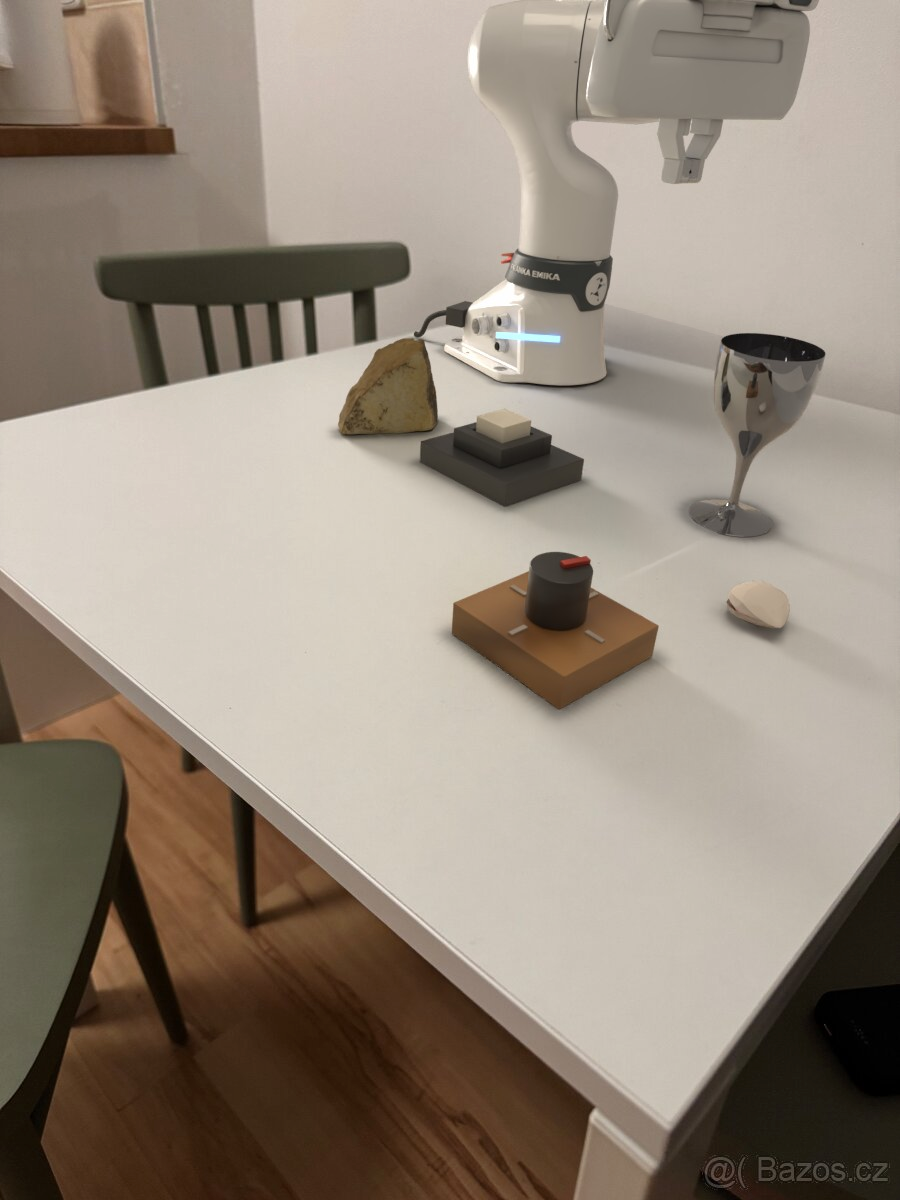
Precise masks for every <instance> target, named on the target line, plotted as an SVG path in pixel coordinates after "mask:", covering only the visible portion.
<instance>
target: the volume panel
mask: <svg viewBox="0 0 900 1200" xmlns="http://www.w3.org/2000/svg"><path fill="white" fill-rule="evenodd" d="M528 576H529V570H528V571H526V572H524V573H521V574H518V575H517V576H514V577H511V578H509V579H507V580H504V581H502V582H500V583H497V584H495V585H492V586H489V587H487V588H485V589H482V590H480V591H478V592H475V593H473V594H471V595H469V596H467V597H464V598H461V599H458V600H456V601H454V602H453V603H452V604H453V605H452V619H451V620H452V621H451V634H452V635H453V636H454V637H456V638H457V639H459V640H460V641H461V642H463V643H464V644H465V645H467V646H468V647H470V648H471V649H473V650H474V651H476V652H477V653H479V655H481V656H483V657H484V658H486V659H487V660H488V661H490V662H491V663H493V664H494V665H496V666H497V667H498V668H500V669H501V670H503V671H504V672H505V673H507V674H508V675H510V676H511V677H513V678H514V679H516V680H517V681H518V682H520V683H521V684H522V685H524V686H525V687H527V688H528V689H530V690H531V691H532V692H534V693H535V694H537V695H539V697H541V698H542V699H544V700H545V701H547V702H548V703H549V704H550V705H552V706H554V707H555V708H556V709H558V710H561V709H563V708H564V707H566V706H568V705H569V704H572V703H573V702H575V701H576V700H578V699H580V698H582V697H584V696H585V695H587V694H589V693H591V692H592V691H595V690H596V689H598V688H599V687H601V686H603V685H605V684H606V683H608V682H610V681H612V680H613V679H615V678H618V677H619V676H621V675H622V674H624V673H626V672H628V671H629V670H631V669H632V668H635V667H636V666H639V665H640V664H642V663H643V662H645V661H647V660H648V659H651V658H652V657H653V654H654V649H655V645H656V640H657V636H658V631H659V625H658V624H657V623H655V622H653V621H652V620H650V619H648V618H646V617H644V616H642V615H641V614H639V613H637V612H635V611H634V610H632V609H630V608H628V607H627V606H625V605H623V604H621V603H619V602H618V601H616V600H614V599H613V598H610V597H609V596H608V595H605V594H603V593H601V592H600V591H598V590H596V589H595V588H592V587H591V589H590V595H589V602H588V608H587V614H586V619H585V621H584V622H583V623H582V624H581V625H580V626H578V627H576V628H573V629H568V630H553V629H547V628H544V627H541V626H539V625H536V624H535V623H533V622H532V621H530V620H529V619H528V617H527V616H526V614H525V602H526V593H527V585H528Z"/></svg>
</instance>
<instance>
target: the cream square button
mask: <svg viewBox="0 0 900 1200" xmlns="http://www.w3.org/2000/svg"><path fill="white" fill-rule="evenodd" d="M531 427H532V419H530V418H527V417H526V416H523V415H521V414H518V413H516V412H515V411H512V410H509V409H506V408H503V409H498V410H494V411H491V412H486V413H482V414H479V415H476V432H478V433H480V434H483V435H485V436H487V437H489V438H491V439H494V440H496V441H498V442H500V443H502V444H503V443H505V442H509V441H512V440H516V439H519V438H523V437H526V436H529V435H530V429H531Z"/></svg>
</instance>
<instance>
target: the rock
mask: <svg viewBox="0 0 900 1200" xmlns="http://www.w3.org/2000/svg"><path fill="white" fill-rule="evenodd" d="M438 417H439V411H438V399H437V390H436V386H435V382H434V377H433V372H432V364H431V360H430V357H429V352H428V350H427V347H426V342H425V340H424V339H422V338H421V339H415V338H413V337H411V338H409V337H404V338H399V339H397V340H395V341H394V342H392V343H389V344H387V345H386V346H383V347H381V348H378V349H376V351H375V352H374V354H373V357H372V359H371V360H370V363H368V365H367V367H366V368H365V369H364V371H363V372H362V375H361V376H360V377H359V378H358V381H357V382H356V383H355V384H354V385H352V387H351V388H349V391H348V393H347V395H346V397H345V402H344V404H343V407H342V409H341V411H340V413H339V415H338V422H337V427H338V429H339V432H340V434H341V435H377V434H406V433H413V432H425V431H431V430H433V429H434V428H435V427H436V426H437V425H438V419H439V418H438Z"/></svg>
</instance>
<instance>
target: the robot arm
mask: <svg viewBox="0 0 900 1200" xmlns="http://www.w3.org/2000/svg"><path fill="white" fill-rule="evenodd" d="M819 2H820V0H513V1H508V2H505V3H500V4H496V5H492V6H489V7H488V8H487V9H485V11H484V12H483V13H482V15H481V16H480V17H479V19H478V21H477V23H476V25H475V26H474V28H473V31H472V33H471V36H470V38H469V39H470V40H469V42H468V43H469V44H468V48H467V57H466V58H467V63H466V64H467V73H468V77H469V82H470V85H471V88H472V90H473V93H474V94H475V96H476V98H477V99H478V101H479V103H481V104H482V106H483V107H484V108H485V109H486V110H487V111H488V112H489V113H490V114H491V115H492V116H493V118H495V120H496V121H497V123H498V124H499V125H500V126H501V128H502V130H503V131H504V134H505V135H506V136H507V138H508V141H509V143H510V145H511V147H512V149H513V152H514V155H515V159H516V163H517V168H518V172H519V173H518V174H519V179H520V218H519V219H520V221H519V235H518V246H517V247H518V248H516V249H515V251H514V252H507V253H502V254H501V255H500V256H501V257H508V258H505V259H503V260H500V263H501V264H502V265H503V264H509V265H508V267H507V269H506V273H505V275H504V279H503V280H502V281H500V282H499V283H498V284H497V285H495V286H494V287H492V289H489V291H487V292H485V294H483V295H482V296H480V297H479V298H478V299H476V300H475V301H474V302H473V301H467V300H463V301H461V302H457V303H454V304H452V305H449V306H446V308H445V309H442V310H438V311H434V312H432V313H430V314H429V315H428V316H426V318H425V319H424V321H423V323H422V326H421V328H420V329H419V331H414V332H413V336H414V337H415V338H419V339H420V338H421V337H423V336H424V335H425V333H426V331H427V330H428V327H429V325H430V323H431V322H432V321H433V320H435V319H437V318H441V317H445V325H446V326H451V327H456V328H460V329H463V330H462V335H461V336H458V337H454V338H453V339H450V340H448V341H447V342H445V344H444V348H443V349H444V350H443V351H444V352H445V353H447V354H449V355H450V356H452V357H454V358H456V359H458V360H460V361H461V362H463V363H464V364H466V365H469V366H470V367H472V368H473V369H476V370H477V371H479V372H480V373H483V374H484V375H486V376H488V377H490V378H492V379H493V380H495V381H498V382H501V383H529V384H537V385H544V386H545V385H547V386H580V385H586V384H587V385H588V384H592V383H596V382H598V381H601V380H602V379H604V378H605V377H606V376H607V373H608V371H607V366H606V357H605V304H606V299H607V296H608V293H609V290H610V284H611V280H612V279H611V278H612V272H613V261H614V258H613V257H612V255H611V251H612V244H613V237H614V229H615V222H616V216H617V210H618V209H617V208H618V200H619V188H618V185H617V182H616V180H615V178H614V176H613V174H612V173H611V172H610V171H609V170H608V169H607V168H606V167H605V166H604V165H602V164H601V163H600V162H599V161H597V160H595V158H593V157H591V156H590V155H588V154H587V153H585V152H583V151H582V150H581V149H580V148H579V147H577V145H576V143H575V141H574V138H573V133H572V125H573V124H574V123H575V122H577V123H578V122H591V123H607V124H619V125H620V124H622V125H636V126H637V125H645V124H651V123H658V125H657V130H656V131H657V133H656V135H657V139H658V143H659V146H660V150H661V154H662V157H663V164H662V169H661V175H660V177H661V181H662V183H665V184H670V185H680V184H698V183H700V182H701V180H702V177H703V174H704V173H703V172H704V167H705V162H706V160H707V159H708V157H709V156H710V153H712V150H713V148H714V147H715V145H716V144H717V142H718V140H719V139H720V138H721V133H722V128H723V124H724V120H727V121H728V120H730V121H731V120H733V121H734V120H739V121H742V120H743V121H747V120H748V121H782V120H783V119H784V118H785V117H786V115H787V114H788V113H789V111H790V110H791V108H792V107H793V105H794V103H795V101H796V98H797V94H798V91H799V87H800V84H801V79H802V75H803V71H804V67H805V62H806V57H807V53H808V47H809V43H810V33H811V26H810V25H811V24H810V20H809V17H808V16H807V14H806V13H805V12H811V11H814V10H816V8H817V6H818V4H819ZM689 134H693V135H692V138H691V140H690V141H689V143H688V146H687V148H685V140H684V137H685V136H689Z"/></svg>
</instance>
